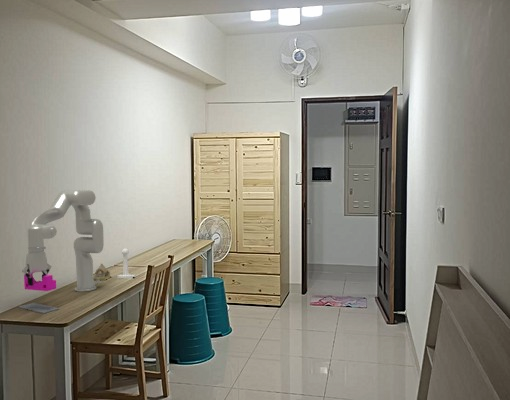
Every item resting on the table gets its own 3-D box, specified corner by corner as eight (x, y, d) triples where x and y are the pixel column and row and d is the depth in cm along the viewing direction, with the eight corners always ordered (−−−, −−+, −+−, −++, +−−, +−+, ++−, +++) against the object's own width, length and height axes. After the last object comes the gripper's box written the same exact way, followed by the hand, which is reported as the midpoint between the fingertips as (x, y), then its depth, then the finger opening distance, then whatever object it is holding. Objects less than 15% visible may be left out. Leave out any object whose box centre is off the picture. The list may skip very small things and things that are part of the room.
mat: (34, 303, 297) (34, 302, 297) (59, 309, 284) (59, 308, 284) (18, 307, 289) (18, 306, 289) (43, 313, 277) (43, 312, 277)
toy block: (56, 288, 286) (55, 274, 285) (48, 291, 280) (47, 276, 279) (33, 286, 291) (32, 272, 290) (24, 289, 285) (23, 274, 284)
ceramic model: (95, 276, 366) (95, 262, 365) (112, 276, 366) (112, 261, 366) (90, 281, 352) (90, 266, 351) (108, 280, 352) (107, 265, 352)
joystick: (116, 279, 356) (115, 248, 354) (120, 277, 363) (119, 247, 362) (133, 279, 355) (132, 248, 353) (136, 277, 362) (136, 247, 361)
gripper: (46, 247, 294) (48, 280, 295) (16, 251, 280) (17, 286, 281) (55, 248, 289) (56, 281, 291) (24, 253, 275) (26, 287, 276)
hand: (37, 283), depth 286 cm, fingers closed on toy block, 7 cm apart
